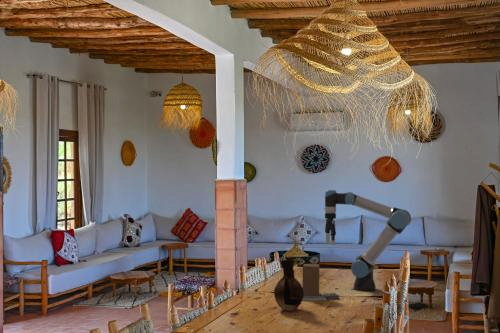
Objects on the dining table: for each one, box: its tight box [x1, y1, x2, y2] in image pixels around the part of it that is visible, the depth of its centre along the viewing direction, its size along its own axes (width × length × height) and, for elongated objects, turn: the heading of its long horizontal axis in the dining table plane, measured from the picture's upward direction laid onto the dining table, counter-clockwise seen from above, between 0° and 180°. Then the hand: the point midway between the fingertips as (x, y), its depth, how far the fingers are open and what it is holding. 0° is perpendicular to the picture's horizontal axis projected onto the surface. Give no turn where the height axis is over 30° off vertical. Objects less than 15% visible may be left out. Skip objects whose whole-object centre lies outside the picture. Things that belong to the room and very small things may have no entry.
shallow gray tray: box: [302, 291, 327, 302], centre depth 444 cm, size 16×14×2 cm
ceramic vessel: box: [273, 258, 304, 312], centre depth 408 cm, size 21×18×30 cm
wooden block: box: [302, 263, 320, 297], centre depth 444 cm, size 10×10×20 cm
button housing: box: [322, 292, 340, 300], centre depth 444 cm, size 8×8×2 cm
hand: (330, 243), depth 471 cm, fingers open, 13 cm apart
